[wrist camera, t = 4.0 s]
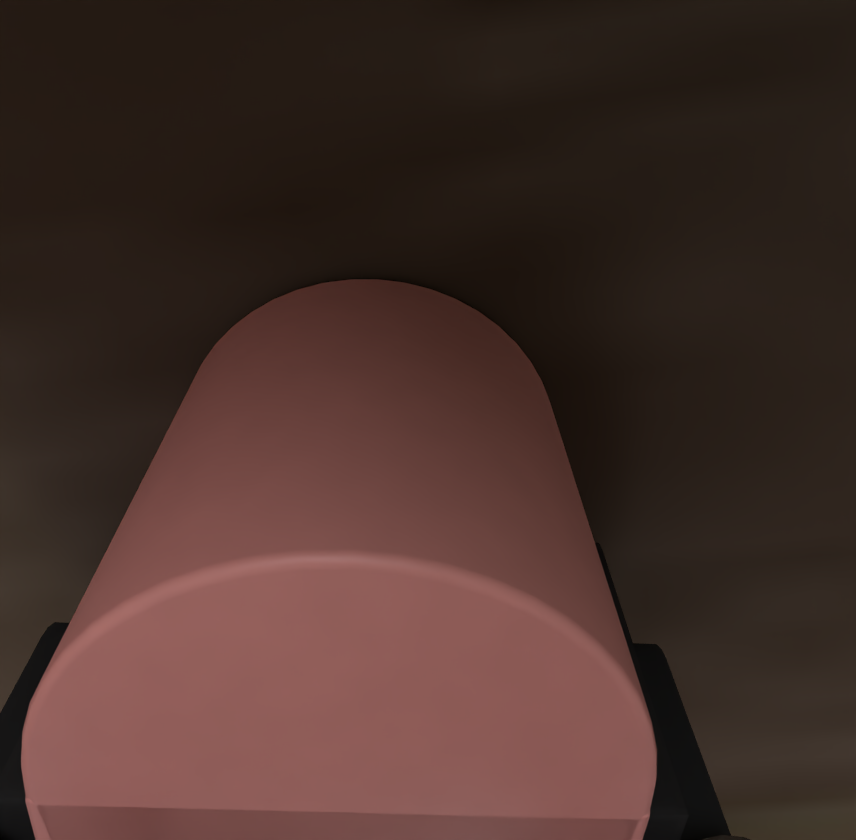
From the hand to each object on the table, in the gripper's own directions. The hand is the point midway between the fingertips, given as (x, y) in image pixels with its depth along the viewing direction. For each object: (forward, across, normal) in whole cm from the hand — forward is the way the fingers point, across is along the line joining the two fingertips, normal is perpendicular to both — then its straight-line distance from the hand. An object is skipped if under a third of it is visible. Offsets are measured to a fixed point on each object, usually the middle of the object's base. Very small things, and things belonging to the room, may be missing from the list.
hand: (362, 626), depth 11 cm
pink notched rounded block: (0, 0, 0) cm, 0 cm away
